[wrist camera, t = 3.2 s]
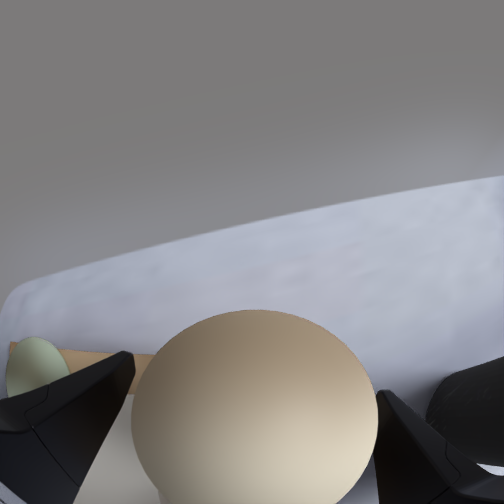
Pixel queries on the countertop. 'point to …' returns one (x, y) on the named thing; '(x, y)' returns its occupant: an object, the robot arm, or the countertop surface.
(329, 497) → the roller
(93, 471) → the slab
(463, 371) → the travel mug
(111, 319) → the countertop surface
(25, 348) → the wooden board
